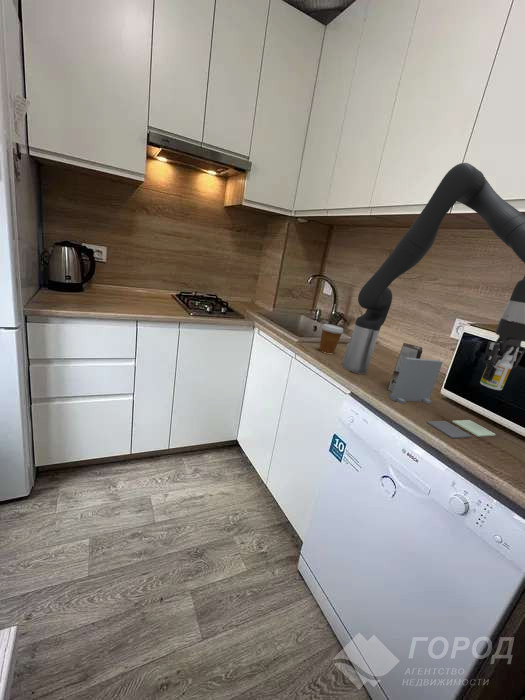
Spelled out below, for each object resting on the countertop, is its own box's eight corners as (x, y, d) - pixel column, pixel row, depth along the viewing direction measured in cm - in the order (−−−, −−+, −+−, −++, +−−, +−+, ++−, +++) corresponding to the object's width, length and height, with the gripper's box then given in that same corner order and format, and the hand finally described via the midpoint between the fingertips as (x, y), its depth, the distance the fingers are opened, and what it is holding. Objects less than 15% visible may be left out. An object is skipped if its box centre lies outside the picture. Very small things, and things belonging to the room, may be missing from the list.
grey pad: (426, 422, 92) (427, 421, 92) (445, 422, 96) (445, 420, 96) (452, 438, 85) (452, 437, 85) (471, 437, 89) (471, 435, 89)
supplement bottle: (492, 384, 95) (506, 352, 92) (506, 392, 90) (521, 358, 87) (475, 381, 94) (488, 348, 92) (488, 388, 89) (502, 354, 87)
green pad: (452, 421, 97) (452, 420, 97) (469, 421, 101) (469, 419, 100) (478, 436, 90) (478, 435, 90) (495, 435, 94) (495, 434, 94)
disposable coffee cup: (317, 352, 144) (323, 326, 140) (314, 347, 153) (321, 322, 150) (338, 357, 144) (345, 331, 140) (335, 351, 153) (342, 326, 150)
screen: (386, 396, 107) (400, 355, 103) (420, 396, 114) (434, 358, 110) (398, 403, 103) (412, 361, 99) (432, 403, 110) (447, 364, 106)
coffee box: (407, 396, 111) (422, 351, 107) (387, 390, 114) (402, 345, 109) (408, 389, 119) (423, 347, 115) (389, 383, 122) (403, 341, 117)
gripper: (518, 320, 93) (494, 375, 98) (487, 314, 87) (464, 373, 92) (548, 327, 87) (522, 386, 91) (517, 321, 81) (491, 385, 85)
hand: (493, 379), depth 91 cm, fingers closed on supplement bottle, 5 cm apart
